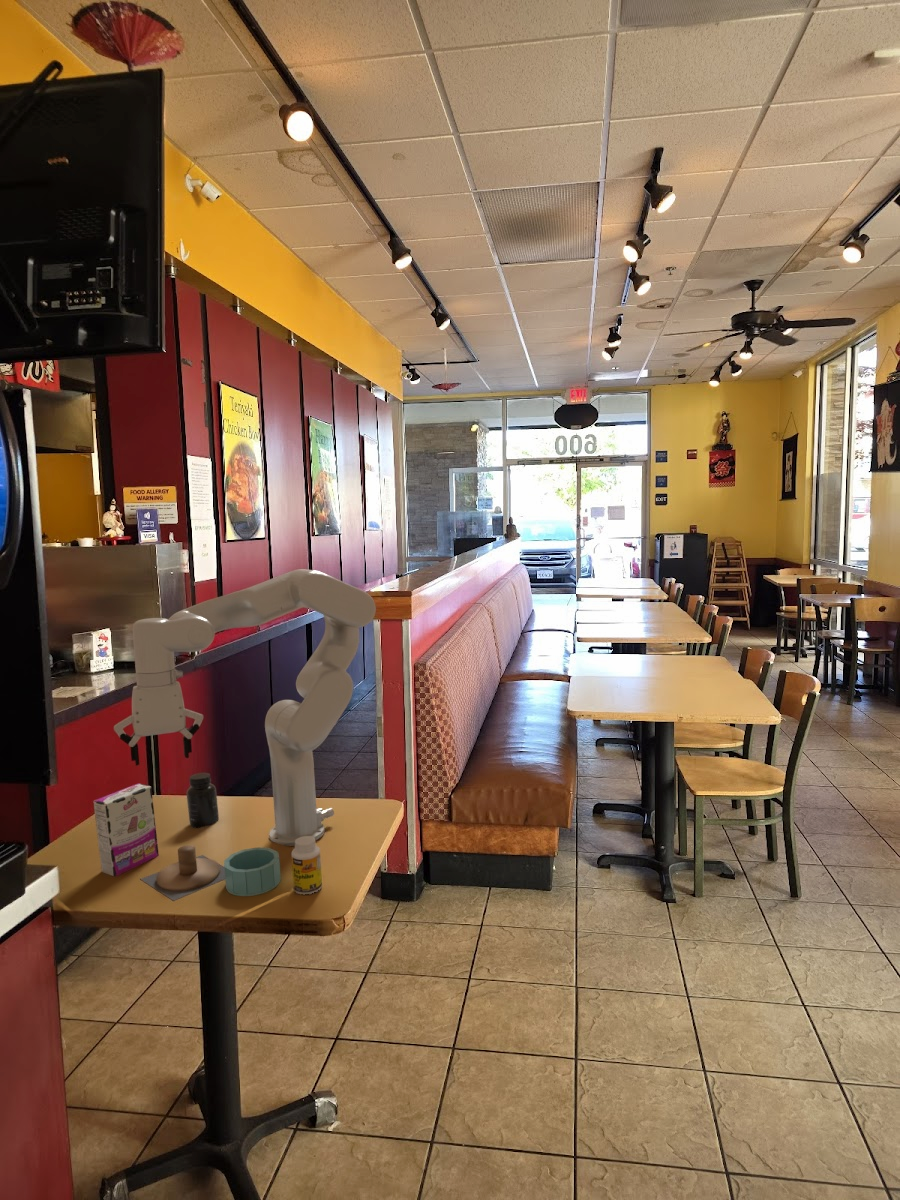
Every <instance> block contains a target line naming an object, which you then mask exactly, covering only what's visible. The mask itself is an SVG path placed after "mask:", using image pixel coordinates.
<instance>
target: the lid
mask: <svg viewBox="0 0 900 1200" xmlns="http://www.w3.org/2000/svg"><path fill="white" fill-rule="evenodd" d="M196 853H197V852H196V846H195V845H193V844H187V845H183V846H179V848H178V849H177V855H178V861H177V862H173V863H171V864H169V865H167V866H165V867H163V868H162V869H161V870H160V871H158V872H159V873H158V874H157V877H156V880H157V885H158V887H160V888H161V889H163V890H167V891H187V890H192V889H196V888H199V887H202V886H205V885H207V884H209V883H211V882H212V881H214V880H215V879H216V878H217V877H218V876H219V874H220V865H221V864H220V863H219V862H217V861H216V860H214V859H212V858H211V859H210V858H209V859H206V858H196V857H197V854H196ZM219 864H220V865H219Z"/></svg>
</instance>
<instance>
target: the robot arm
mask: <svg viewBox="0 0 900 1200" xmlns="http://www.w3.org/2000/svg"><path fill="white" fill-rule="evenodd" d="M305 608H306V609H310V610H313V611H315V612H317V613H319V614H321V615H323V619H324V624H325V627H324V628H325V629H324V634H323V636H322V638H321V640H320V642H319V644H318V645H317V647H316V649H315V650H314V652H313V653H312V654H311V656H310V657H309V659H308V661H307V662H306V663H305V665H304V666H303V668H302V669H301V670H300V672H299V674H297V677H296V680H295V687H296V690H297V693H298V694H299V696H301V697H302V699H303V700H302V702H299V701H296V700H293V699H282V700H279V701H277V702H275V703H274V704H272V705H271V706H270V708H269V709H268V710H267V713H266V715H265V720H264V728H265V729H264V730H265V734H266V735H265V736H266V741H267V746H268V750H269V757H270V768H271V769H270V770H271V782H272V783H271V784H272V786H271V787H272V797H273V809H274V813H273V814H274V823H275V824H274V827H273V828H270V831H269V832H268V837H269V840H270V841H271V842H273V843H275V844H276V845H277V844H278V845H282V846H285V847H295V840H296V839H297V838H300V837H303V836H312V837H314V838H315V841H317V840H319V839H320V838H322V836H323V835H324V834H325V831H326V830H325V825H324V824H323V823H322V822H323V821H324V820H326V819H328V818H331V817H333V816H334V815H335V811H334V808H332V807H329V808H326V809H324V810H323V808H321V807H319V808H317V798H316V781H315V780H316V779H315V765H314V752H313V751H314V750H316V749H317V748H319V746H321V745H322V744H323V742H324V741H325V740H326V738H327V737H328V736H329V735H330V733H331V732H332V730H333V728H335V726H336V724H337V722H338V721H339V719H340V718H341V717H342V715H343V713H344V711H345V710H346V709H347V707H348V705H349V703H350V702H351V699H352V696H353V691H354V683H353V679H352V677H351V675H350V673H348V672H347V670H348V668H349V666H350V665H351V663H352V661H353V660H354V658H355V656H356V653H357V651H358V650H359V649H358V648H359V645H360V629H359V628H362V627H365V626H367V625H369V624H370V623H371V622H372V621H373V620H374V618H375V616H376V612H377V608H376V603H375V601H374V599H373V597H372V596H371V595H370V594H369V593H368V592H366V591H365V590H363V589H360V588H358V587H356V586H354V585H352V584H349V583H346V582H344V581H342V580H340V579H337V578H336V577H333V576H331V575H329V574H326V573H325V572H321V571H320V570H313V569H307V568H306V569H304V568H300V569H295V570H291V571H288V572H286V573H283V574H280V575H277V576H276V577H273V578H270V579H268V580H265V581H263V582H260V583H257V584H255V585H251V586H250V587H246V588H244V589H241V590H238V591H234V592H231V593H228V594H225V595H221V596H218V597H214V598H211V599H208V600H205V601H202V602H200V603H197V604H194V605H191V606H189V607H187V608H184V609H181V610H179V611H177V612H175V613H173V614H172V615H171V616H170V617H169V618H165V617H150V618H149V617H148V618H143V619H139V620H136V621H134V622H133V624H132V638H133V641H132V642H133V651H134V653H133V654H134V664H135V665H134V667H135V678H136V679H135V681H136V685H134V686H133V687H132V692H131V693H132V694H131V715H129V716H127V717H126V718H124V719H122V720H121V721H119V722H117V723H116V724H115V725H114V726H113V731H114V732H115V733H116V734H117V736H118V737H119V739H120V740H121V741H122V742H124V743H125V744H127V745H128V746H129V748H130V755H131V756H130V759H131V760H130V761H131V762H135V766H136V767H137V766H139V765H140V757H139V745H138V742H139V740H140V739H142V737H149V736H156V735H157V736H158V735H164V734H171V733H177V732H178V733H181V734H182V735H183V737H182V742H183V755H184V757H185V758H186V759H190V753H192V752H193V749H192V747H193V746H192V738H193V736H194V735H196V733H197V731H199V729H200V726H201V725H202V722H203V720H204V714H202V713H199V712H196V711H194V710H191V709H187V708H185V702H184V696H183V692H182V691H183V690H182V687H181V683H180V681H177V680H178V679H180V678H183V677H184V672H183V670H179V669H176V664H175V663H176V661H175V653H176V652H177V653H179V652H181V653H182V652H183V653H185V652H186V653H194V652H200V651H204V650H206V649H207V648H208V647H210V646H211V644H212V643H213V641H214V639H215V634H216V633H218V632H221V631H222V632H223V631H225V630H230V629H236V628H238V629H239V628H252V627H256V626H257V627H258V626H261V625H265V624H267V623H269V622H271V621H273V620H276V619H278V618H281V617H283V616H286V615H287V614H290V613H292V612H295V611H298V610H299V609H305ZM186 717H187V718H190V719H193V720H194V722H193V724H192V725H191V726H190V727H189V728H188V727H187V726H186V725H187V723H186V721H187V720H186ZM131 724H132V729H133V733H132V734H131V736H130V735H129V734H127V733H126V732H125V731H124V729H125V728H126V727H127V726H129V725H131Z"/></svg>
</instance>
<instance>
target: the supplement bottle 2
mask: <svg viewBox="0 0 900 1200" xmlns="http://www.w3.org/2000/svg"><path fill="white" fill-rule="evenodd" d="M290 854H291V867H292V869H291V871H292V881H293V882H292V883H293V885H292V887H293V891H294V892H295V893H296V894H298V895H301V894H303V896H304V895H305V894H309V895H312V893H313V894H315V893H314V892H316V893H317V892H319V891H320V890H321V889H322V887H323V886H322V885H323V882H322V880H323V879H322V876H323V875H322V865H321V864H322V862H321V849H320V847H319V846H317V844H316V840H315V838H314V837H312V836H303V837H300V838H297V839H296V840H295V846H294V848H293V849H292V851H291V853H290ZM318 890H319V891H318ZM305 896H306V895H305Z"/></svg>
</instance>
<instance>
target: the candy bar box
mask: <svg viewBox="0 0 900 1200" xmlns="http://www.w3.org/2000/svg"><path fill="white" fill-rule="evenodd" d="M153 798H154V797H153V791H152V786H150V785H146V784H143V783H136V784H133V785H131V786H128V787H126V788H123V789H120V790H117V791H116V792H115V791H114V792H113V793H111V794H107V795H105V796H102V797H100V798H97V799H94V800H93V801H92V802H93V810H94V818H95V819H94V820H95V826H96V827H95V828H96V834H97V835H96V836H97V845H98V851H99V859H100V860H99V861H100V866H101V867H100V869H101V872H102V873H105V874H107V875H110V876H112V877H117V876H119V875H121V874H123V873H125V872H127V871H130V870H131V869H134V868H136V867H138V866H140V865H142V864H144V863H146V862H148V861H151V860H153V859H155V858H156V857H159V856H160V853H159V846H158V845H159V844H158V836H157V827H156V826H157V825H156V818H155V809H154V800H153Z"/></svg>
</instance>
